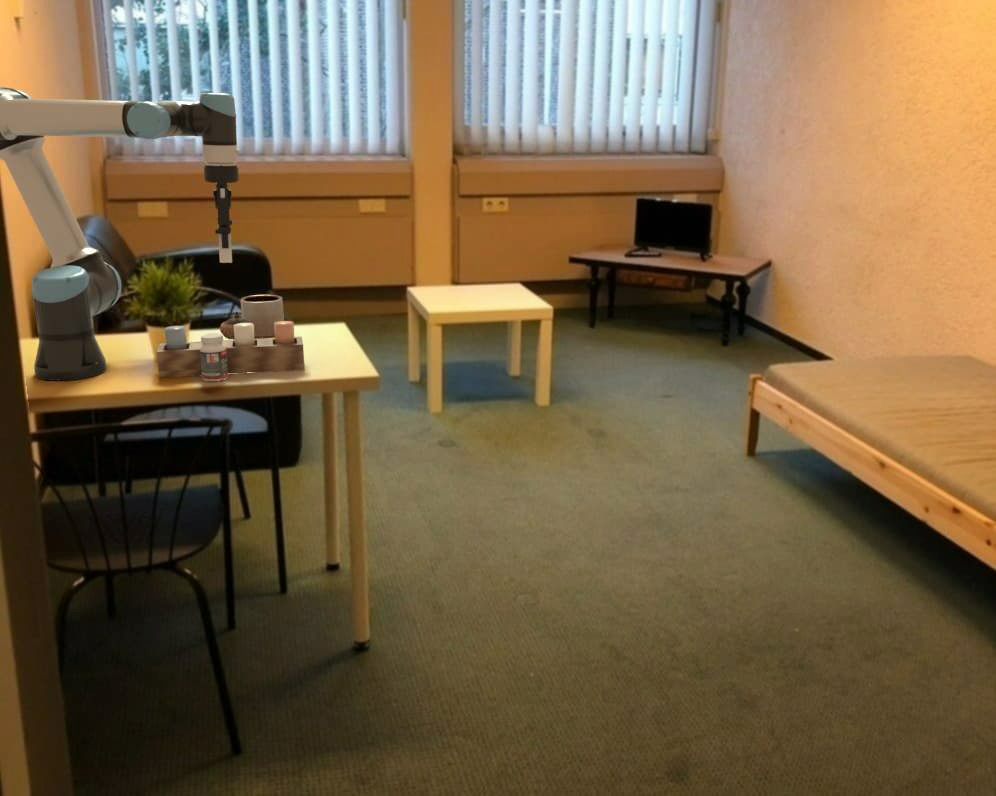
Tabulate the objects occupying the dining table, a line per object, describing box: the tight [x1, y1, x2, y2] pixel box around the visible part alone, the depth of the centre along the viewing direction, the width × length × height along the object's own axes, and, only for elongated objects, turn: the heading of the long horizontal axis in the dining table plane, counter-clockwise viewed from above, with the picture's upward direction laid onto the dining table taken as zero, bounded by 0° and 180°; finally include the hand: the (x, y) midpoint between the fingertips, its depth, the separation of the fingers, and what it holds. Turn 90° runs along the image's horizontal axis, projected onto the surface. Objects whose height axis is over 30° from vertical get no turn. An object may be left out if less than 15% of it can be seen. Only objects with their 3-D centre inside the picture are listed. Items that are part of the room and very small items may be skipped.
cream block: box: [234, 323, 256, 347], centre depth 231 cm, size 4×4×6 cm
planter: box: [240, 294, 285, 339], centre depth 266 cm, size 11×11×10 cm
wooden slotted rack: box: [156, 336, 305, 378], centre depth 232 cm, size 32×8×6 cm, turn 103°
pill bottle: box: [200, 332, 229, 382], centre depth 223 cm, size 6×6×10 cm
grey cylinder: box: [164, 325, 187, 350], centre depth 228 cm, size 4×4×6 cm
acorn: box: [219, 311, 255, 340], centre depth 248 cm, size 8×8×10 cm
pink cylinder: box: [274, 320, 295, 345], centre depth 233 cm, size 4×4×6 cm
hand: (225, 257), depth 234 cm, fingers open, 13 cm apart
